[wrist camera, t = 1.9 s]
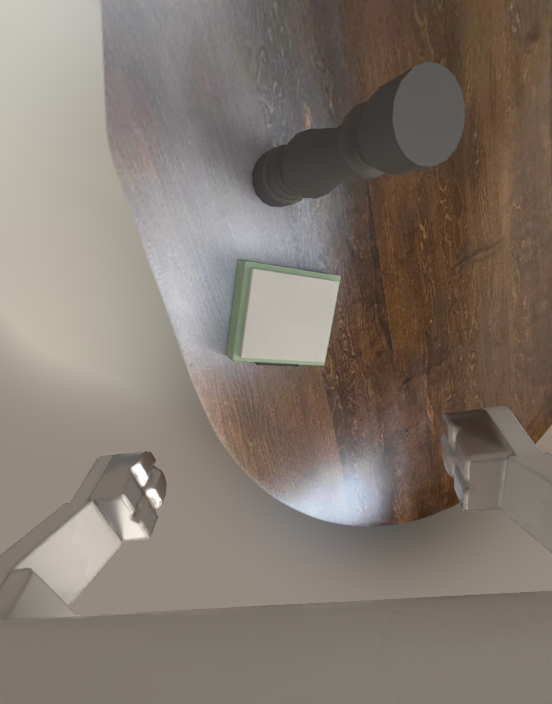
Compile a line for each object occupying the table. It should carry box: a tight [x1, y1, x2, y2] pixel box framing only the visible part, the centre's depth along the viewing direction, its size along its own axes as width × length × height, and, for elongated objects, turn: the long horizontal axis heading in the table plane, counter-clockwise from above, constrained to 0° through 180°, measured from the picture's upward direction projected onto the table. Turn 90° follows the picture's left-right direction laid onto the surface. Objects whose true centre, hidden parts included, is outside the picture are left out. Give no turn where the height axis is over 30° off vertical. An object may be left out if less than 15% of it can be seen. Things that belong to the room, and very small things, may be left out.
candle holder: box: [253, 62, 465, 207], centre depth 34 cm, size 6×6×25 cm
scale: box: [226, 260, 341, 366], centre depth 48 cm, size 13×12×4 cm
